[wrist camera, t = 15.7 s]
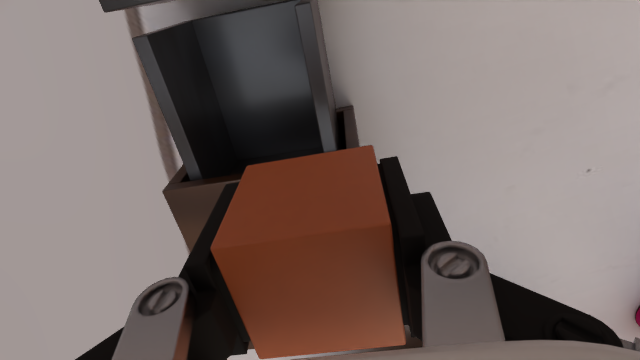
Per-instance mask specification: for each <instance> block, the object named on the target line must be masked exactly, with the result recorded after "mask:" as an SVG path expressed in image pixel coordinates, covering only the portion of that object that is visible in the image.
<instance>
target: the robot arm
mask: <svg viewBox="0 0 640 360" xmlns="http://www.w3.org/2000/svg"><path fill="white" fill-rule="evenodd" d="M377 166H378V170H379V174H380V178H381V183H382V187H383V191H384V195H385V199H386V204H387V208H388V212H389V216H390V221H391V226H392V234H393V242H394V256H395V264H396V272H397V279H398V287H399V295H400V303H401V311H402V319H403V324H404V325H409V328H410V332H411V337H417V338H418V339H420V340H421V341H422V342H423V347H421V348H410V349H399V350H388V351H377V352H366V353H356V354H345V355H334V356H323V357H312V358H302V359H292V360H640V339H639V338H636V337H635V340H634V343H632V342H629V341H626V340H622V339H619V337H618V336H617V335H616V334H615V332H614V331H613V330H612V329H610V328H609V327H608V326H607V325H605V324H604V323H603V322H602V321H600V320H598V319H596V318H594V317H592V316H590V315H588V314H586V313H583V312H581V311H579V310H576V309H574V308H571V307H569V306H567V305H564V304H562V303H560V302H557V301H555V300H552V299H550V298H548V297H545V296H543V295H541V294H538V293H536V292H533V291H531V290H529V289H526V288H524V287H522V286H519V285H517V284H514V283H512V282H510V281H507V280H505V279H503V278H500V277H498V276H495V275H493V274H491V273H489V269H488V265H487V261H486V259H485V257H484V255H483V254H482V253H481V252H480V251H479V250H478V249H477V248H475V247H473V246H471V245H469V244H466V243H463V242H457V241H452V240H451V238H450V236H449V234H448V231H447V229H446V227H445V225H444V222H443V220H442V218H441V216H440V213H439V211H438V209H437V207H436V204H435V202H434V200H433V198H432V195H431V194H430V192H424V193H417V194H410V191H409V189H408V186H407V183H406V180H405V177H404V174H403V172H402V169H401V166H400V163H399V160H398V157H397V156H396V157H390V158H384V159H380V164H377ZM238 185H239V182H235V183H229V184H226V185H225V187H224V189H223V191H222V193H221V194H220V196H219V198H218V200H217V202H216V204H215V206H214V208H213V210H212V212H211V214H210V216H209V218H208V220H207V222H206V224H205V226H204V228H203V229H202V231H201V233H200V235H199V237H198V239H197V241H196V243H195V245H194V247H193V249H192V251H191V253H190V255H189V257H188V259H187V261H186V263H185V265H184V267H183V269H182V271H181V273H180V275H179V277H172V278H166V279H163V280H160V281H158V282H156V283H154V284H152V285H151V286H149V287H148V288H147V289H145V290H144V291H143V292H142V293H141V294H140V295H139V296H138V297H137V299H136V300H135V302H134V304H133V306H132V308H131V311H130V314H129V316H128V319H127V322H126V324H125V326H124V327H123V328H122V329H120V330H119V331H117V332H116V333H114V334H113V335H111V336H110V337H108V338H107V339H105V340H104V341H102V342H101V343H99V344H98V345H97V346H95V347H93V348H92V349H90V350H89V351H87V352H86V353H84V354H83V355H82V356H80V357H78V358H77V359H75V360H227V358H228V357H229V356H231V355H241V354H247V350H248V346H249V341H251V339H250V337H249V335H248V332H247V330H246V328H245V326H244V323H243V321H242V319H241V317H240V314H239V312H238V310H237V308H236V305H235V303H234V301H233V299H232V296H231V294H230V292H229V290H228V287H227V285H226V283H225V281H224V279H223V276H222V274H221V272H220V270H219V267H218V265H217V263H216V261H215V258H214V256H213V254H212V252H211V245H212V243H213V241H214V238H215V236H216V234H217V232H218V230H219V227H220V225H221V223H222V221H223V218H224V216H225V214H226V212H227V209H228V207H229V205H230V203H231V200H232V198H233V196H234V194H235V191H236V189H237V187H238Z"/></svg>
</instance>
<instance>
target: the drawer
mask: <svg viewBox="0 0 640 360" xmlns="http://www.w3.org/2000/svg"><path fill="white" fill-rule="evenodd" d="M171 1H176V0H99V2H100V4H101V6H102V9H103V11H104V12H112V11H117V10H124V9H130V8H136V7H142V6H148V5H154V4H160V3H166V2H171ZM132 40H133V42H134V45H135V47H136V50H137V52H138V54H139V57H140V59H141V62H142V64H143V67H144V69H145V71H146V74H147V76H148V79H149V81H150V84H151V86H152V88H153V91H154V93H155V96H156V98H157V101H158V103H159V105H160V108H161V110H162V113H163V115H164V117H165V120H166V122H167V125H168V127H169V130H170V132H171V134H172V137H173V139H174V142H175V144H176V147H177V149H178V151H179V154H180V156H181V159H182V161H183V164H184V166H185V168H186V171H187V173H188V176H189V178H190V181H195V180H202V179H208V178H215V177H222V176H228V175H235V174H241V173H244V171H245V169H246V167H247V166H249V165H255V164H261V163H267V162H273V161H279V160H285V159H291V158H297V157H303V156H309V155H315V154H321V153H327V152H333V151H338V150H343V149H342V143H341V137H340V131H339V125H338V119H337V113H336V107H335V101H334V95H333V89H332V83H331V77H330V71H329V65H328V59H327V54H326V48H325V42H324V36H323V30H322V24H321V18H320V12H319V6H318V0H287V1H282V2H277V3H272V4H267V5H262V6H258V7H253V8H248V9H243V10H238V11H233V12H228V13H224V14H219V15H214V16H209V17H204V18H199V19H194V20H190V21H185V22H182V23H178V24H175V25H172V26H169V27H166V28H163V29H159V30H156V31H153V32H150V33H147V34H144V35H140V36H137V37H134V38H132Z"/></svg>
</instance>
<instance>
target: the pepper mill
mask: <svg viewBox="0 0 640 360" xmlns="http://www.w3.org/2000/svg"><path fill="white" fill-rule="evenodd" d="M636 322H637V324H638V325H639V326H640V308H639V310H638V311H637V313H636Z"/></svg>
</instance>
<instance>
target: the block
mask: <svg viewBox="0 0 640 360" xmlns="http://www.w3.org/2000/svg"><path fill="white" fill-rule="evenodd" d="M211 252H212V254H213V256H214V258H215V261H216V263H217V265H218V267H219V270H220V272H221V274H222V276H223V279H224V281H225V283H226V285H227V287H228V290H229V292H230V294H231V296H232V299H233V301H234V303H235V305H236V308H237V310H238V312H239V314H240V317H241V319H242V321H243V323H244V326H245V328H246V330H247V332H248V335H249V337H250V339H251V341H252V344H253V346H254V348H255V350H256V353H257V355H258V357H259V359H267V358H277V357H287V356H298V355H308V354H318V353H328V352H338V351H348V350H358V349H369V348H379V347H389V346H399V345H405V344H406V337H405V329H404V324H403V319H402V311H401V303H400V295H399V287H398V279H397V272H396V264H395V256H394V242H393V234H392V226H391V221H390V216H389V212H388V208H387V204H386V199H385V195H384V191H383V187H382V183H381V178H380V174H379V170H378V166H377V161H376V157H375V153H374V149H373V146H372V145H368V146H362V147H356V148H350V149H344V150H338V151H333V152H327V153H321V154H315V155H309V156H303V157H297V158H291V159H285V160H279V161H273V162H267V163H261V164H255V165H249V166H247V167H246V169H245V171H244V174H243V176H242V178H241V180H240V182H239V185H238V187H237V189H236V191H235V194H234V196H233V198H232V200H231V203H230V205H229V207H228V209H227V212H226V214H225V216H224V218H223V221H222V223H221V225H220V227H219V230H218V232H217V234H216V236H215V238H214V241H213V243H212V245H211Z"/></svg>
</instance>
